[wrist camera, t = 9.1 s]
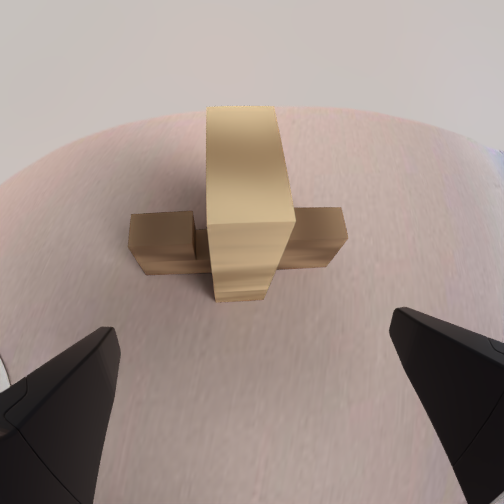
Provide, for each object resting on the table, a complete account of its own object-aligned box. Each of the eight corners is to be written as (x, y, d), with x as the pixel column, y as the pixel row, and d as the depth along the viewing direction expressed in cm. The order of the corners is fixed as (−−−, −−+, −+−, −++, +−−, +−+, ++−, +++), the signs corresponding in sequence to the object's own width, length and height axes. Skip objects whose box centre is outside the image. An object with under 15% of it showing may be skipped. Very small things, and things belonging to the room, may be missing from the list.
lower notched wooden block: (321, 240, 22) (341, 207, 18) (326, 266, 21) (348, 238, 17) (147, 247, 21) (131, 214, 17) (146, 275, 20) (127, 246, 16)
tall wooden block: (263, 299, 20) (295, 221, 11) (215, 302, 19) (206, 224, 10) (254, 216, 22) (273, 106, 13) (212, 218, 22) (206, 107, 13)
